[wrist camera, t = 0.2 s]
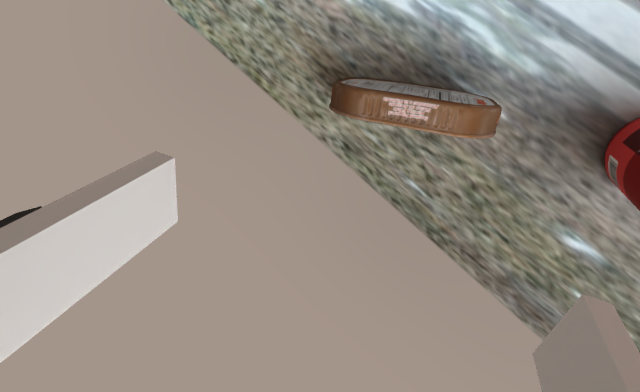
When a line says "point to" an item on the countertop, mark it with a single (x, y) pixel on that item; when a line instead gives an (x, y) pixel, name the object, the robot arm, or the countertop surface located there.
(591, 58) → the countertop surface
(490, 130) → the tin
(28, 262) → the robot arm
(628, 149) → the canned food
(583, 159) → the countertop surface
